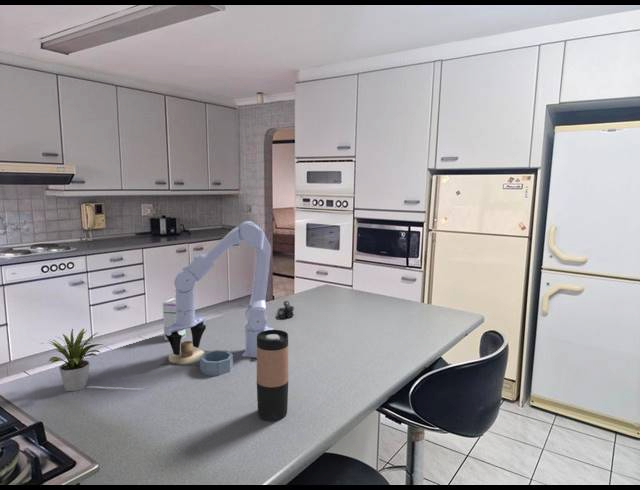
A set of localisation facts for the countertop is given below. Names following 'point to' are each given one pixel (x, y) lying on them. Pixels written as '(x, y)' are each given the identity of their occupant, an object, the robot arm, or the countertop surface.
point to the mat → (181, 365)
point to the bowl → (216, 362)
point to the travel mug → (272, 374)
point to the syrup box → (171, 316)
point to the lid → (186, 354)
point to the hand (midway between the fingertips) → (186, 350)
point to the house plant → (74, 361)
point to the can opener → (286, 310)
